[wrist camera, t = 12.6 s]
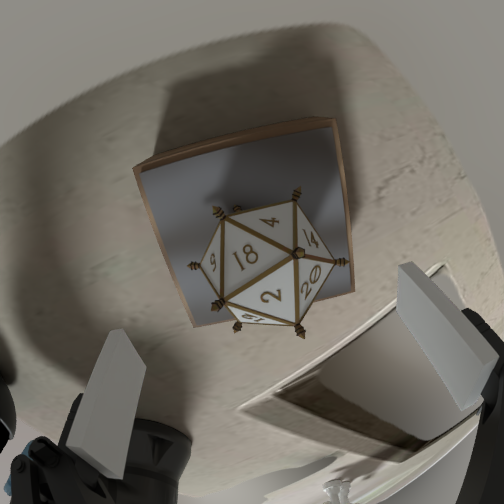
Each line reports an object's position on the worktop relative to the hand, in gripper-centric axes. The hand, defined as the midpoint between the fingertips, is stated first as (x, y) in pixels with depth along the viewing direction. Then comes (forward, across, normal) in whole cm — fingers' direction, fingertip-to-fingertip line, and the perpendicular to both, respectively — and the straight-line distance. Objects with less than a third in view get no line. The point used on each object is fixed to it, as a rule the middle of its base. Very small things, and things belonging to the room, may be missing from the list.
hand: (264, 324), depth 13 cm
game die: (+9, -1, 0) cm, 9 cm away
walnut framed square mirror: (+15, 0, 0) cm, 15 cm away
